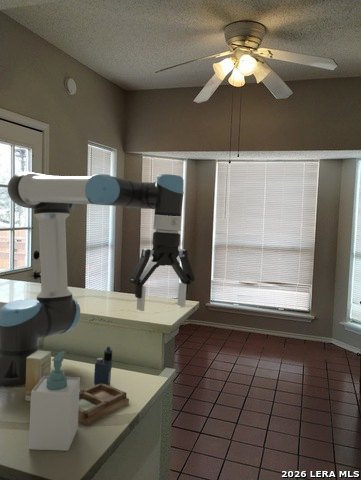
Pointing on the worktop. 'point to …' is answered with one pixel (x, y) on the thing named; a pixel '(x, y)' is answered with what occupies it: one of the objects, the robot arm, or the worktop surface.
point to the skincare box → (36, 370)
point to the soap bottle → (54, 410)
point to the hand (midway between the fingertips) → (161, 307)
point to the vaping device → (103, 368)
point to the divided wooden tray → (99, 402)
